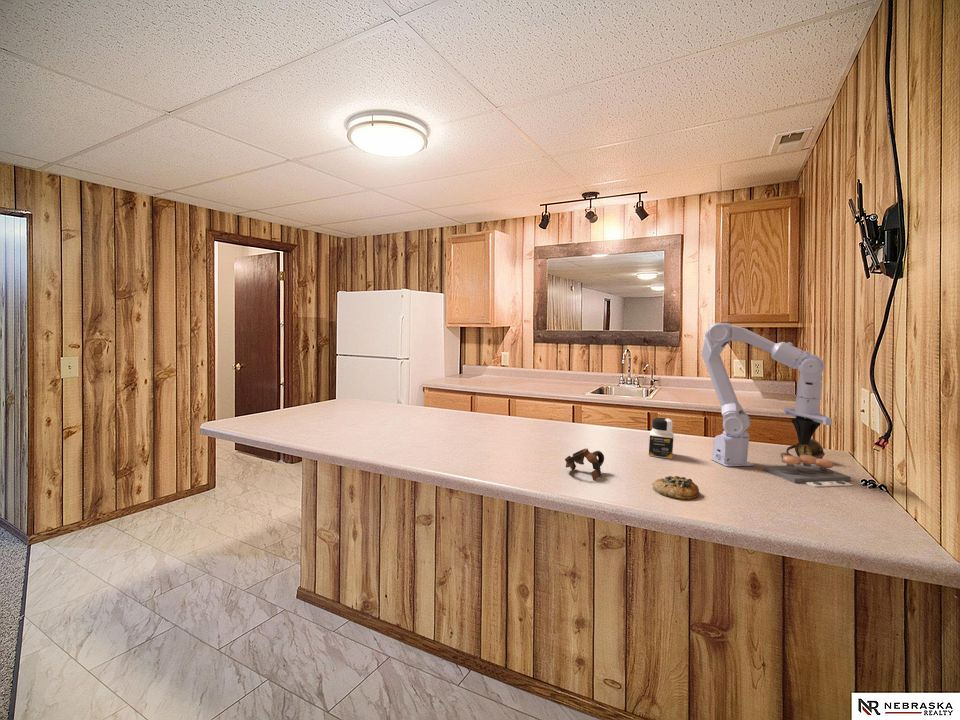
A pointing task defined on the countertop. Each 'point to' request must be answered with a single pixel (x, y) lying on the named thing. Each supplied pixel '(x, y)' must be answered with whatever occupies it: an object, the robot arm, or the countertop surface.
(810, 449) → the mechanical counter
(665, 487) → the bread roll
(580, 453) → the brown jointed linkage
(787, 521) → the countertop surface
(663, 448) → the medicine bottle
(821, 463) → the button
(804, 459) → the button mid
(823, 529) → the countertop surface
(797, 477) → the board
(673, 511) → the countertop surface
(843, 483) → the card
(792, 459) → the button
